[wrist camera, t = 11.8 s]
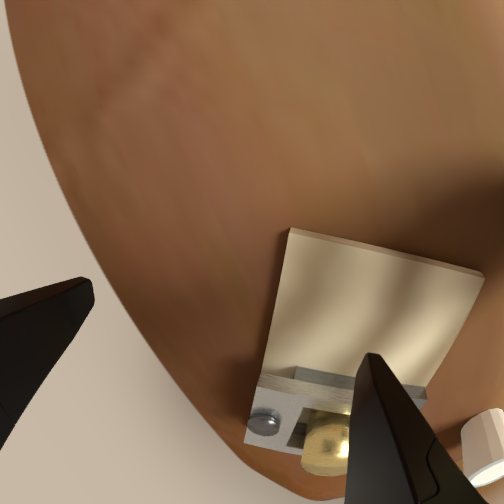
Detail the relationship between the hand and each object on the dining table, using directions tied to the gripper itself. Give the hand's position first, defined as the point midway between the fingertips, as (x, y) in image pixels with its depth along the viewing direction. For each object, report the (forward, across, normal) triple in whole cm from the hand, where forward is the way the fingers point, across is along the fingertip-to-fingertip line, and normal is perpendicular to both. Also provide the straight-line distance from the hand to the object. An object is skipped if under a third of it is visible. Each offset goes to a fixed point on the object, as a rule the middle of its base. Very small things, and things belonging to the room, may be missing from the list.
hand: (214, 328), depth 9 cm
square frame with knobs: (+12, -8, +16) cm, 22 cm away
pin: (+11, -8, +16) cm, 21 cm away
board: (+12, -8, +12) cm, 19 cm away
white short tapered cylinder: (+12, -27, +18) cm, 35 cm away
